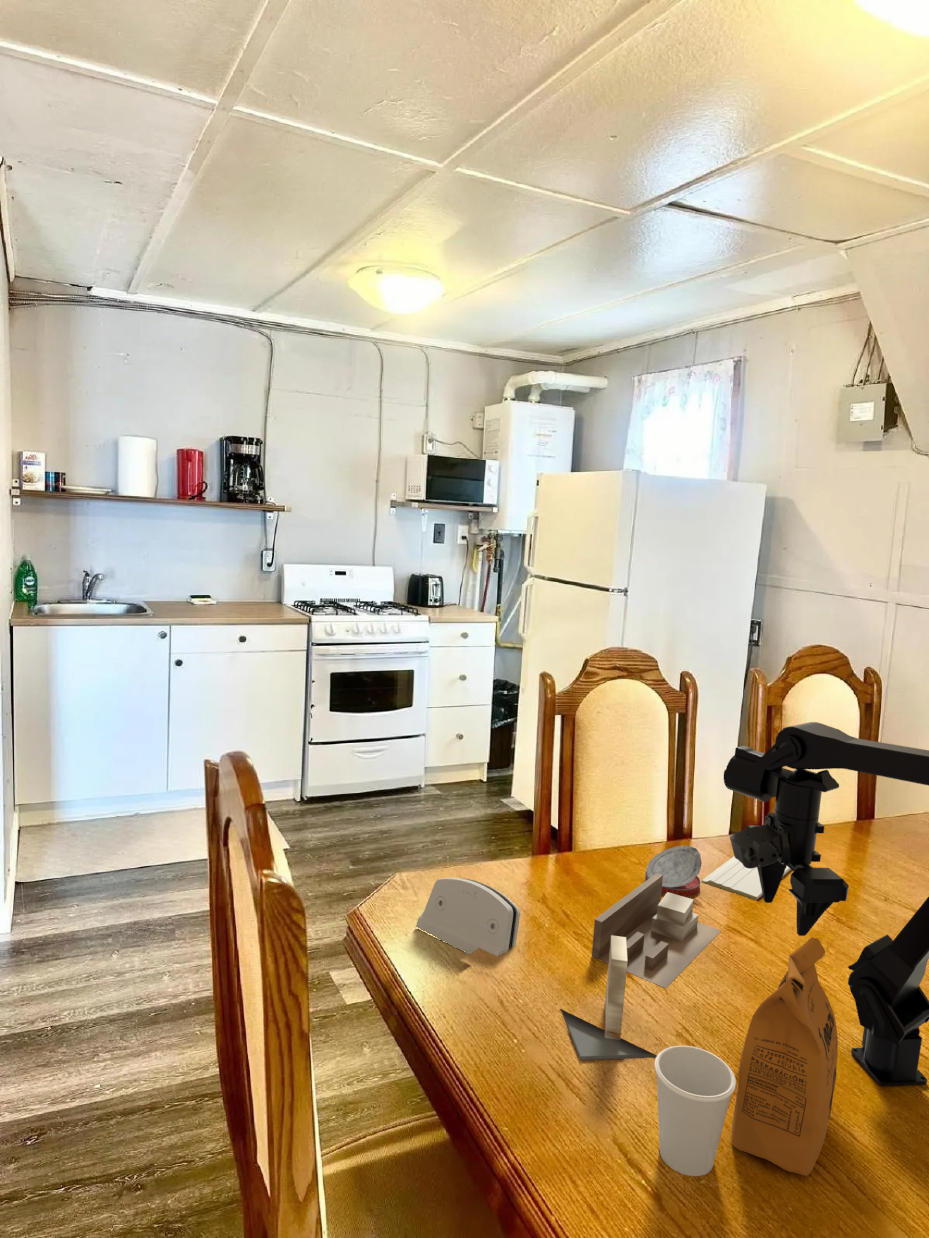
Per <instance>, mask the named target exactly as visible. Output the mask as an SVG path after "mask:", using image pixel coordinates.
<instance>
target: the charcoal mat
mask: <svg viewBox="0 0 929 1238" xmlns="http://www.w3.org/2000/svg"><path fill="white" fill-rule="evenodd" d="M560 1012H561V1014H562V1017H563V1019H564V1022H565V1025H566V1028H567V1029H568V1033H569V1034H570V1037H571V1040H572V1043H573V1045H574V1047H575V1050H576V1053H577V1055H578V1057H579V1059H580V1061H586V1060H587V1061H588V1060H589V1061H591V1060H594V1061H595V1060H619V1059H620V1060H622V1059H646V1058H651V1059H652V1058H653V1059H654V1058H656V1057H657V1055H658V1054H655V1053H652V1052H650V1051H649V1050H647V1049H645V1048H642V1047H641V1046H638V1045H636V1044H634V1043H632V1042H630V1041H627V1040H625V1039H623V1038H622V1037H620V1038H621V1039H620V1040H617V1039H610V1038H605V1029H604V1028H601V1027H599V1026H597V1025H595V1024H593V1023H591V1022H590V1021H589V1022H588V1021H587V1020H584V1019H583V1018H581V1017H578V1016H576V1015H574V1014H572V1013H570V1012H568V1011H566V1010H564V1009H562V1008H560Z"/></svg>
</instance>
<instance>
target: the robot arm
mask: <svg viewBox="0 0 929 1238" xmlns="http://www.w3.org/2000/svg"><path fill="white" fill-rule="evenodd" d="M784 767H787V768H788V769H787V768H784ZM791 769H793V770H791ZM831 769H832V770H833V769H836V770H837V769H838V770H840V769H842V770H848V771H854V772H858V773H864V774H869V775H873V776H878V777H883V778H887V779H888V778H889V779H893V780H894V779H895V780H899V781H903V782H909V783H913V784H919V785H923V786H929V750H927V749H922V748H916V747H911V746H903V745H898V744H894V743H886V742H881V741H874V740H867V739H864V738H857V737H854V736H851V735H849V734H848V733H846V732H844V731H842V729H841V730H840V729H839V728H837V727H836V728H835V727H833V726H830V725H827V724H825V723H820V722H817V721H808V722H804V723H800V724H796V725H795V724H794V725H790V726H786V727H783V728H782V729H781V730H780V731H779V732H778V733H777V736H776V737H775V742H774V744H773V745H772V746H771V747H770V748H769V749H768V750H767V751H766V752H761V751H758V750H756V749H753V748H752V747H750V746H746V745H741V746H737V747H735V750H734V754H733V755H732V757H731V758H730V760H729V761H728V763H727V765H726V768H725V769H724V771H723V784H724V785H725V788H726V789H728V790H729V791H733V792H736V793H738V794H741V795H744V796H746V797H749V798H752V799H755V800H758V801H760V802H764V803H767V802H769V801H770V800H771V799H772V798H775V802H774V809H773V810H774V811H773V812H767V815H765V817H764V818H765V819H764V823H763V824H762V825H747V826H745V828H743V829H742V830H740V831H736V832H735V833H732V834H730V835H729V841H730V844H731V848H732V851H733V855H734V856H735V858H736V859H738V860H739V861H740V862H741V863H742V864H743V866H744V867H746V868H749V869H752V868H756V867H757V869H758V873H759V878H760V884H761V889H762V894H763V895H762V899H763V902H764V903H766V904H771V903H773V901H774V900H775V897H776V894H777V893H778V890H779V887H780V885H781V882H782V879H783V878H784V876H783V874H784V871H785V869H786V866H788V867H789V868H790V869H791V870H790V871H792V873H790V879H789V884H790V886H791V888H788V892H790V894H791V895H792V896H793V897H794V898H795V899H796V934H797V935H798V936H799V937H802V936H803V937H805V936H807V934H808V933H809V932H810V930H811V929H812V928H813V927H814V926H815V924H816V923H817V922H818V921H819V919H820V918H821V916H822V915H824V913H825V912H826V911H827V910H828V909H829V908H830V907H831V906H832V905H834V903H840V902H846V901H847V900H848V896H849V895H848V894H849V884H848V883H847V882H846V880H845V879H844V878H842V877H841V876H840V874H839V875H838V873H836V871H834V870H833V869H832V868H829V867H813V866H812V865H811V864H812V863H816V862H817V863H819V862H821V858H822V854H821V853H819V852H818V851H816V841H817V834H825V825H823V824H822V823H820V822H819V819H820V816H819V815H820V809H821V800H822V793H827V792H830V791H833V790H836V789H839V788H840V783H838V782H837V780H836V779H835V778H834V777H833V776H832V774H831V773H830V771H829V770H831ZM811 770H821V771H817V772H814V771H811ZM734 856H733V857H734ZM928 962H929V896H928V897H927V898H926V899H925V900H924V902H923V903H922V904H921V906H920V907H919V908H918V909H917V910H916V912H914V914H913V915H912V917H911V918H910V919H909V921H907V923H906V924H905V925H904V926H903V928H902V929H901V930H900V931H899V933H898V934H897V935H896V937H894V938H893V939H892V938H891V936H889V934H885V935H883V936H882V937H880V938H877V940H875V941H872V942H871V943H869V944H868V945H865V946H864V947H863V949H862V951H861V952H860V955H859V956H858V959H857V961H855V962H854V963H852V964H850V965H848V967H847V968H848V969H849V970H850V971H852V972H850V974H849V975H848V980H847V984H848V986H849V990H850V993H851V996H852V997H853V999H854V1003H855V1007H856V1011H857V1017H858V1022H859V1025H860V1026H861V1027H863V1033H862V1039H861V1040H862V1041H861V1047H851V1048H850V1049H851V1050H850V1053H851V1054H852V1056H853V1057H854V1058H855V1059H856V1060H857V1061H858V1062H859V1064H861V1066H862V1067H863V1068H864V1069H865V1070H866V1071H867V1072H868V1074H869V1075H870V1076H871V1077H872V1078H873V1079H874V1081H875V1082H877V1083H878V1085H881V1086H883V1087H885V1086H886V1087H889V1086H905V1085H906V1086H908V1085H926V1084H928V1078H927V1077H926V1076H925V1075H924V1074H923V1073H922V1072H921V1071H920V1070H919V1062H920V1056H921V1055H920V1054H921V1048H922V1041H923V1037H922V1036H921V1035H920V1033H921V1031H920V1027H921V1026H923V1025H924V1024H925V1023H928V1022H929V998H928V997H927V995H926V994H925V992H924V991H923V990H922V988H921V986H920V984H921V982H922V980H924V976H925V974H926V970H927V965H928Z"/></svg>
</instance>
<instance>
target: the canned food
mask: <svg viewBox="0 0 929 1238" xmlns="http://www.w3.org/2000/svg"><path fill="white" fill-rule="evenodd" d="M701 857H702V856H701V852H699V850H698V849H697V848H696V847H694V846H691V845H689V844H688V845H676V846H673V847H670V848H667V849H664V850H663V851H661V852H660V853H657V854H656V855H654V856H653V858H651V860H649V862H648V863H647V867H646V871H645V876H644V882H645V881H646V880H648V879H649V878H650V877H652V876H653V875H654V874H656V873H659V874H661V875H663V881H662V892H661V895H662V894H663V895H666V893H667V892H669V893H672V894H676V895H679V896H683V897H686V898H688V897H692V896H695V895H696V894H698V893H699V892H700V888H701V879H700V878H699V877H698V875H699V874H700V872H701V867H702V858H701Z"/></svg>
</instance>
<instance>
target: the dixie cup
mask: <svg viewBox="0 0 929 1238" xmlns="http://www.w3.org/2000/svg"><path fill="white" fill-rule="evenodd" d="M656 1055H657V1057H655V1059H654V1070H655V1073H656V1084H657V1085H656V1089H657V1118H658V1146H659V1147H658V1149H659V1155H660V1157H661V1159H662V1160H663V1161H664V1163H665V1164H666V1165H667V1166H668V1167H670V1168H671V1169H672V1170H673V1171H676V1172H677V1173H679V1174H682V1175H685V1176H687V1177H700V1176H705V1175H707V1174H709V1173H710V1172H711V1171H712V1169H713V1167H714V1163H715V1159H716V1156H717V1152H718V1148H719V1143H720V1140H721V1136H722V1134H723V1129H724V1126H725V1125H724V1124H725V1121H726V1117H727V1114H728V1109H729V1105H730V1102H731V1097H732V1095H733V1093H734V1091H736V1086H737V1080H736V1075H735V1073H734V1071H732V1069H731V1066H729V1065H728V1064H727V1063H726V1062H725V1061H724V1060H723V1059H722V1058H720V1057H719V1056H717V1055H715V1054H714V1053H712V1052H710V1051H708V1050H705V1049H703V1048H700V1047H696V1046H691V1045H673V1046H669V1047H667V1048H664V1049H662V1050H661V1051H660V1052H659V1053H658V1054H656Z"/></svg>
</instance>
